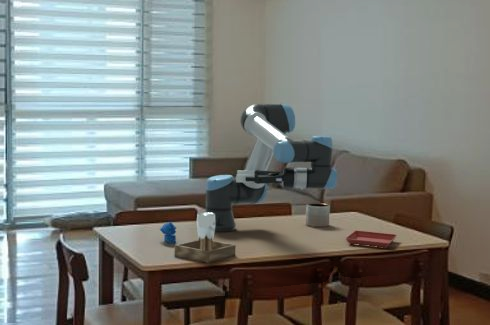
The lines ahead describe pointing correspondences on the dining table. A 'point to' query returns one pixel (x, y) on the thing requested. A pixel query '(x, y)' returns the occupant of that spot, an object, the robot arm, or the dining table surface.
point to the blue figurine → (169, 232)
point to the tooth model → (205, 230)
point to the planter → (317, 214)
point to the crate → (194, 253)
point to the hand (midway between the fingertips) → (236, 176)
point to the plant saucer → (370, 238)
